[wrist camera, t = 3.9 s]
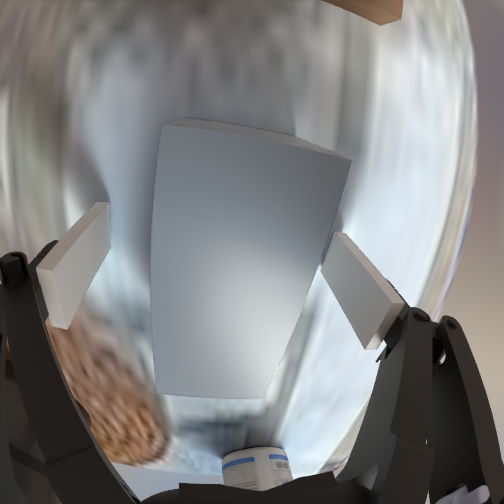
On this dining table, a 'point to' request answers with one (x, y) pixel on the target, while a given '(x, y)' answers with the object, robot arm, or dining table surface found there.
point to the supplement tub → (256, 468)
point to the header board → (373, 9)
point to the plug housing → (234, 252)
